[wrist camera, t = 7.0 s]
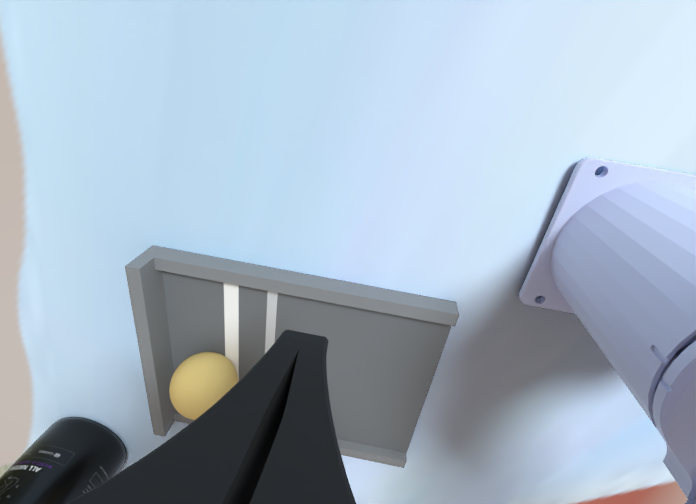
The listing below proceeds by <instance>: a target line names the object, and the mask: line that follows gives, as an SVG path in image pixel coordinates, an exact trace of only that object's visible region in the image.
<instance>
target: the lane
mask: <svg viewBox="0 0 696 504" xmlns="http://www.w3.org/2000/svg"><path fill="white" fill-rule="evenodd" d="M125 269H126V275H127V281H128V287H129V293H130V299H131V304H132V310H133V316H134V322H135V328H136V333H137V339H138V345H139V351H140V357H141V363H142V368H143V374H144V380H145V386H146V392H147V397H148V403H149V409H150V415H151V421H152V427H153V432H154V434H155V435H160V436H165V435H166V434H167V432H168V430H169V429H170V427H171V425H172V424H173V422H174V421H179V422H184V423H188V424H191V423H192V422H193V421H195V420H192V419H189V418H186V417H184V416H182V415H181V414H180V413H179V412H178V411H177V410H176V409H175V408H174V406H173V404H172V402H171V399H170V394H169V387H170V382H171V378H172V376H173V374H174V372H175V370H176V369H177V367H178V366H179V365H180V364H181V363H182V362H183V361H184V360H186V359H187V358H189V357H191V356H192V355H195V354H198V353H201V352H215V353H219V354H221V355H223V356H225V357H226V358H228V359H229V360H230V361H231V362H232V364H233V365H234V366H235V368H236V371H237V374H238V382H239V381H240V380H241V379H242V378H243V377H244V376H245V375H246V374H247V373H248V372H249V371H250V370H251V369H252V368H253V366H254V365H255V364H256V363H257V362H258V361H259V360H260V359H261V358H262V357H263V356H264V355H265V353H266V352H267V351H268V350H269V349H270V348H271V346H272V345H273V344H274V343H275V342H276V340H277V339H278V338H279V337H280V335H281V334H282V332H283V331H285V330H293V331H298V332H303V333H308V334H313V335H319V336H324V337H326V338H327V339H328V340H329V341H328V348H327V355H326V367H327V383H328V391H329V400H330V406H331V412H332V418H333V423H334V428H335V433H336V437H337V442H338V446H339V449H340V453H341V455H345V456H349V457H354V458H359V459H364V460H369V461H374V462H379V463H384V464H388V465H393V466H398V467H403V468H404V466H405V463H406V452H407V449H408V447H409V444H410V441H411V438H412V435H413V432H414V430H415V427H416V424H417V421H418V418H419V416H420V413H421V410H422V407H423V404H424V401H425V399H426V396H427V393H428V390H429V387H430V385H431V382H432V379H433V376H434V373H435V370H436V368H437V365H438V362H439V359H440V356H441V353H442V351H443V348H444V345H445V342H446V339H447V337H448V334H449V331H450V328H451V326H455V325H456V322H457V319H458V317H459V312H458V308H457V304H456V302H453V301H448V300H442V299H437V298H432V297H426V296H421V295H415V294H410V293H405V292H399V291H394V290H389V289H383V288H378V287H373V286H367V285H362V284H357V283H351V282H346V281H340V280H335V279H330V278H324V277H319V276H314V275H308V274H303V273H298V272H292V271H287V270H281V269H276V268H271V267H265V266H260V265H255V264H249V263H244V262H239V261H233V260H228V259H223V258H217V257H212V256H206V255H201V254H196V253H190V252H185V251H180V250H174V249H169V248H164V247H158V246H151V247H150V248H149V249H147V250H146V251H145V252H143V253H142V254H141V255H139V256H138V257H137V258H135V259H134V260H133V261H131V262H130V263H129V264H127V265H126V266H125Z"/></svg>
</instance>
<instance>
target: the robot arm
mask: <svg viewBox="0 0 696 504" xmlns="http://www.w3.org/2000/svg"><path fill="white" fill-rule="evenodd" d="M601 166H603V167H604V169H603V172H602V173H601V174H599V175H595V171H596V170H597V168H599V167H601ZM538 296H542V298H541V299H538V300H535V298H536V297H538ZM519 298H520V300H521V302H522V303H523V304H525V305H529V306H535V307H540V308H546V309H551V310H556V311H562V312H567V313H572V314H576V315H577V317H578V318H579V320H580V321H581V323H582V324H583V325H584V327H585V328H586V330H587V331H588V332H589V334H590V335H591V337H592V338H593V339H594V341H595V342H596V344H597V345H598V346H599V348H600V349H601V351H602V352H603V354H604V355H605V356H606V358H607V359H608V361H609V362H610V363H611V365H612V366H613V368H614V369H615V370H616V372H617V373H618V375H619V376H620V377H621V379H622V380H623V382H624V383H625V385H626V386H627V387H628V389H629V390H630V392H631V393H632V394H633V396H634V397H635V399H636V400H637V401H638V403H639V404H640V406H641V407H642V408H643V410H644V411H645V413H646V414H647V416H648V417H649V418H650V420H651V421H652V423H653V424H654V425H655V427H656V428H657V429H658V431H659V432H660V434H661V436H662V437H663V439H664V441H665V442H666V445H667V454H666V456H665V458H664V461H663V462H664V464H665V465H666V467H667V468H668V470H669V471H670V473H671V474H672V476H673V477H674V479H675V480H676V482H677V483H678V485H679V486H680V488H681V489H682V490H683V492H684V493H685V495H686V497H687V498H688V499H689V500H687V502H686V503H685V504H696V175H695V174H689V173H683V172H677V171H671V170H665V169H659V168H653V167H647V166H641V165H636V164H630V163H624V162H618V161H612V160H606V159H600V158H594V157H586V158H583V159H581V160H580V161H579V162H578V163H577V165H576V166H575V168H574V171H573V173H572V175H571V177H570V180H569V182H568V184H567V186H566V189H565V191H564V193H563V195H562V198H561V200H560V202H559V204H558V207H557V209H556V211H555V213H554V216H553V218H552V220H551V222H550V225H549V227H548V229H547V231H546V234H545V236H544V238H543V240H542V243H541V245H540V247H539V249H538V252H537V254H536V256H535V258H534V261H533V263H532V265H531V268H530V270H529V272H528V274H527V277H526V279H525V281H524V283H523V286H522V288H521V290H520V292H519ZM328 341H329V340H328V339H327V338H326V337H324V336H319V335H313V334H308V333H303V332H298V331H293V330H285V331H283V332H282V334H281V335H280V337H279V338H278V339H277V340H276V342H275V343H274V344H273V345H272V346H271V348H270V349H269V350H268V351H267V352H266V353H265V355H264V356H263V357H262V358H261V359H260V360H259V361H258V362H257V363H256V364H255V365H254V366H253V368H252V369H251V370H250V371H249V372H248V373H247V374H246V375H245V376H244V377H243V378H242V379H241V380H240V381H239V382H238V383H237V384H236V385H235V386H233V387H232V388H231V389H230V390H229V391H228V392H227V393H226V394H225V395H224V396H223V397H222V398H221V399H220V400H218V401H217V402H216V403H215V404H214V405H213V406H212V407H210V408H209V409H208V410H207V411H206V412H204V413H203V414H202V415H201V416H199V417H198V418H197V419H196V420H195V421H193V422H192V423H191V424H189V425H188V426H187V427H186V428H184V429H183V430H181V431H180V432H179V433H177V434H176V435H175V436H173V437H172V438H171V439H169V440H168V441H167V442H165V443H164V444H162V445H161V446H160V447H158V448H157V449H155V450H154V451H152V452H151V453H149V454H148V455H146V456H145V457H143V458H142V459H140V460H139V461H137V462H136V463H134V464H132V465H131V466H129V467H128V468H126V469H125V470H123V471H121V472H120V473H118V474H117V475H115V476H114V477H112V478H111V479H109V480H107V481H106V482H104V483H102V484H101V485H99V486H97V487H95V488H94V489H92V490H90V491H88V492H86V493H85V494H83V495H81V496H79V497H78V498H76V499H74V500H72V501H71V502H69V503H67V504H356V502H355V499H354V496H353V493H352V490H351V488H350V485H349V482H348V478H347V475H346V472H345V468H344V464H343V461H342V457H341V453H340V449H339V446H338V442H337V437H336V433H335V428H334V423H333V418H332V412H331V406H330V400H329V391H328V383H327V367H326V355H327V348H328Z"/></svg>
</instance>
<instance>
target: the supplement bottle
mask: <svg viewBox="0 0 696 504" xmlns="http://www.w3.org/2000/svg"><path fill="white" fill-rule="evenodd" d="M125 458H126V452H125V448H124V446H123V444H122V442H121V441H120V439H119V438H118V437H117V436H116V435H115V434H114V433H112V432H111V431H110V430H108V429H107V428H105V427H104V426H102V425H100V424H98V423H96V422H93V421H91V420H87V419H83V418H77V417H70V418H64V419H61V420H59V421H57V422H55V423H54V424H52V425H51V426H50V427H49V428H48V429H47V430H46V431H45V432H44V433H43V434H42V435H41V436H40V437H39V438H38V439H37V440H36V441H35V442H34V443H33V444H32V445H31V446H30V447H29V448H28V450H27V451H26V452H25V453H24V454H23V455H22V456H21V457H20V458H19V459H18V460H17V461H16V462H15V463H14V464H13V465H12V466H11V467H10V468H9V469H8V470H7V471H6V472H5V473H4V474H3V475H2V476H1V477H0V504H67V503H69V502H71V501H72V500H74V499H76V498H78V497H79V496H81V495H83V494H85V493H86V492H88V491H90V490H92V489H94V488H95V487H97V486H99V485H101V484H102V483H104V482H106V481H107V480H109V479H111V478H112V477H114V476H115V475H117V473H118V472H119V470H120V469H121V467H122V466H123V464H124V462H125Z"/></svg>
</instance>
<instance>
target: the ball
mask: <svg viewBox="0 0 696 504" xmlns="http://www.w3.org/2000/svg"><path fill="white" fill-rule="evenodd" d="M237 383H238V374H237V371H236V368H235V366H234V365H233V364H232V362H231V361H230V360H229V359H228V358H226V357H225V356H223V355H221V354H219V353H215V352H201V353H198V354H195V355H192V356H191V357H189V358H187V359H186V360H184V361H183V362H182V363H181V364H180V365H179V366H178V367H177V369H176V370H175V372H174V374H173V376H172V378H171V382H170V387H169V394H170V399H171V402H172V404H173V406H174V408H175V409H176V410H177V411H178V412H179V413H180V414H181V415H182V416H184V417H186V418H189V419H192V420H196V419H197V418H198V417H199V416H201V415H202V414H203V413H204V412H206V411H207V410H208V409H209V408H210V407H212V406H213V405H214V404H215V403H216V402H217V401H218V400H220V399H221V398H222V397H223V396H224V395H225V394H226V393H227V392H228V391H229V390H230V389H231V388H232V387H233V386H235V385H236V384H237Z"/></svg>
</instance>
